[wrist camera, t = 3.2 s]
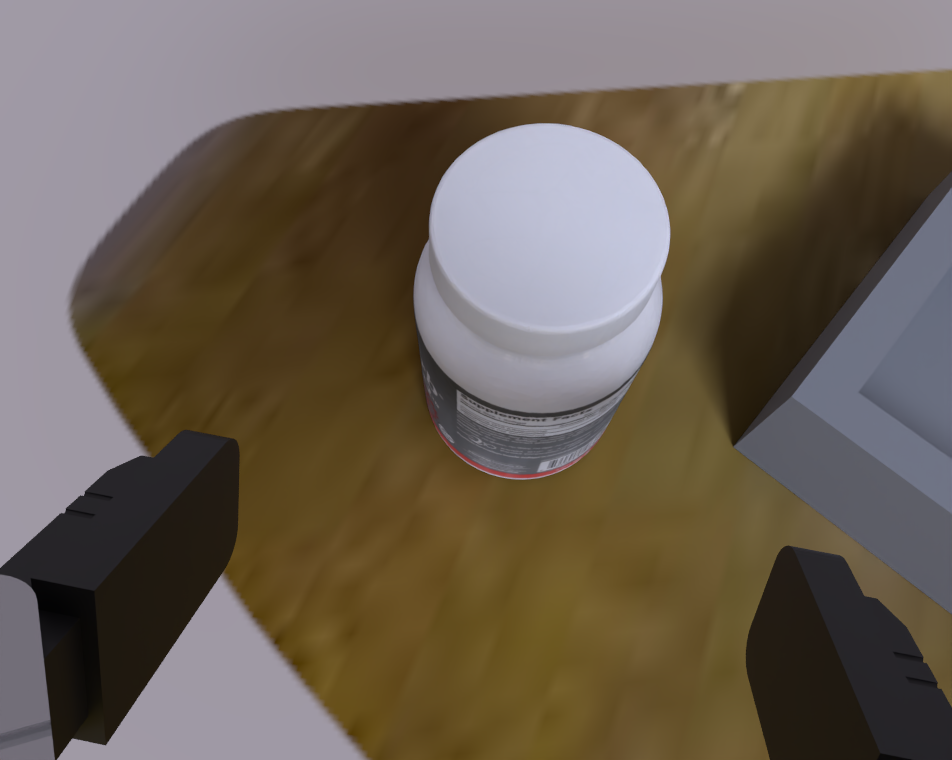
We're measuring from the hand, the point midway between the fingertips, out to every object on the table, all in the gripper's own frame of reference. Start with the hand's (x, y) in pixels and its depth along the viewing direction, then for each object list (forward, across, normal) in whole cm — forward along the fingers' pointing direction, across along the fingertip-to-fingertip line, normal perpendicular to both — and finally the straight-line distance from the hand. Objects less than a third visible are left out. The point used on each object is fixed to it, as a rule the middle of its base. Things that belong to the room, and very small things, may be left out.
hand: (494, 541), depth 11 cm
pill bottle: (+13, 0, +3) cm, 13 cm away
